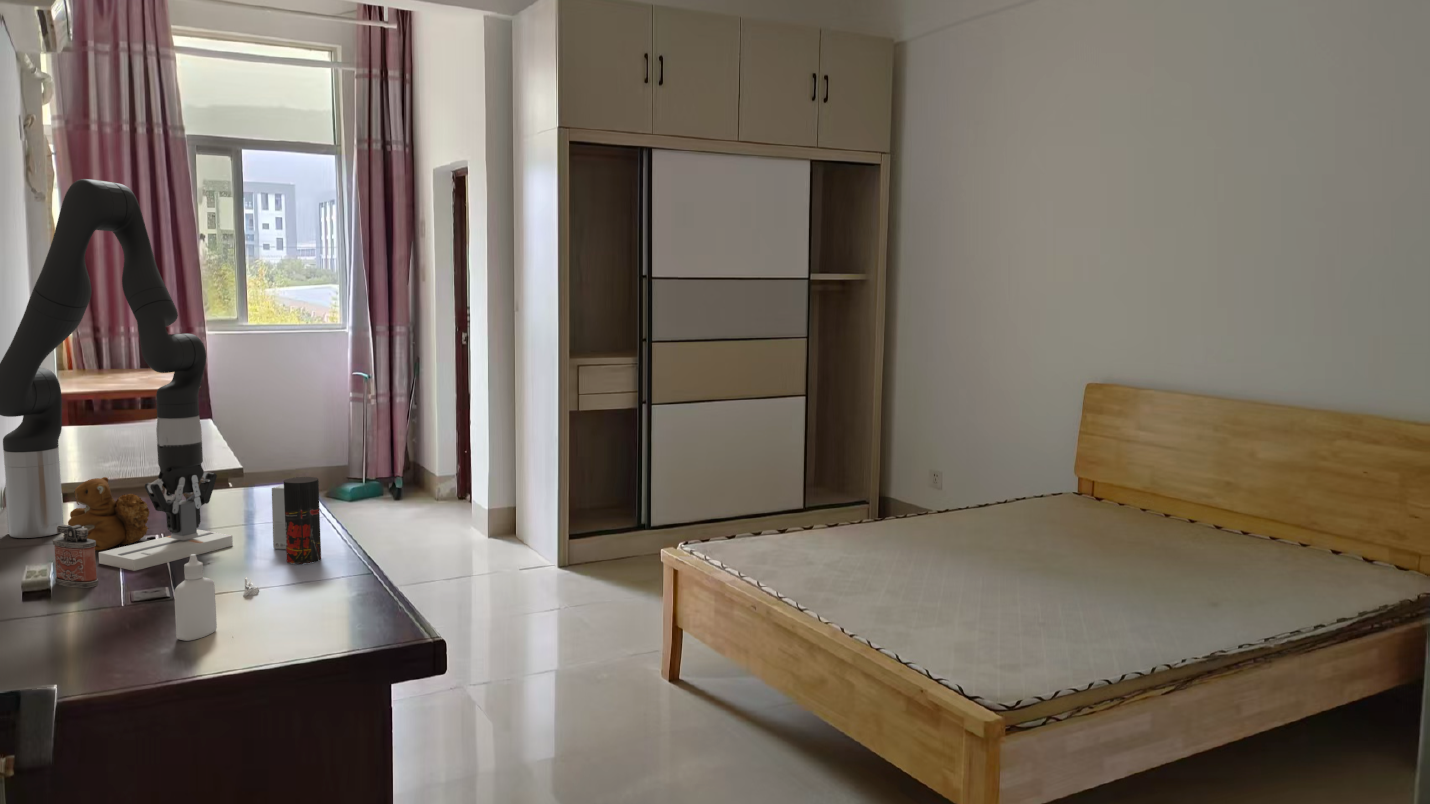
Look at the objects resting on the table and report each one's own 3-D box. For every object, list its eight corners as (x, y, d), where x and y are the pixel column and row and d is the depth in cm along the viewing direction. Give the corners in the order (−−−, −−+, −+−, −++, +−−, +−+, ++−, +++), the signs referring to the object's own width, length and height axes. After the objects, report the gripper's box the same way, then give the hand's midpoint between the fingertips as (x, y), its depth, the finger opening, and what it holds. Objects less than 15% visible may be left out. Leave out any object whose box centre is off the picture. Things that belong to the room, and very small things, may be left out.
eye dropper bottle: (172, 635, 150) (167, 554, 148) (213, 627, 153) (210, 548, 152) (179, 643, 146) (175, 561, 145) (221, 635, 150) (218, 554, 149)
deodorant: (280, 559, 190) (277, 479, 188) (312, 553, 194) (309, 475, 193) (295, 566, 186) (292, 484, 184) (327, 559, 190) (324, 480, 189)
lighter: (103, 583, 175) (100, 525, 173) (85, 588, 171) (82, 529, 170) (68, 578, 177) (64, 521, 176) (50, 583, 174) (46, 525, 173)
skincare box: (292, 550, 197) (290, 488, 195) (272, 549, 198) (270, 487, 196) (311, 542, 203) (309, 482, 201) (291, 541, 204) (289, 481, 202)
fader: (171, 538, 195) (169, 502, 195) (185, 534, 198) (183, 500, 197) (183, 540, 194) (181, 505, 193) (197, 537, 197) (196, 502, 196)
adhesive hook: (242, 594, 171) (242, 576, 170) (260, 593, 172) (259, 574, 171) (242, 600, 168) (241, 581, 167) (260, 598, 169) (259, 579, 168)
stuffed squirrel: (77, 541, 202) (73, 474, 201) (158, 535, 207) (154, 471, 205) (63, 553, 193) (59, 484, 191) (148, 548, 198) (144, 480, 196)
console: (99, 563, 187) (98, 551, 186) (198, 539, 204) (197, 528, 204) (134, 570, 182) (133, 559, 182) (232, 545, 200) (232, 534, 200)
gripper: (200, 434, 202) (204, 520, 204) (131, 443, 189) (136, 535, 191) (225, 437, 198) (229, 524, 200) (157, 447, 186) (162, 540, 188)
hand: (184, 529), depth 196 cm, fingers open, 3 cm apart
